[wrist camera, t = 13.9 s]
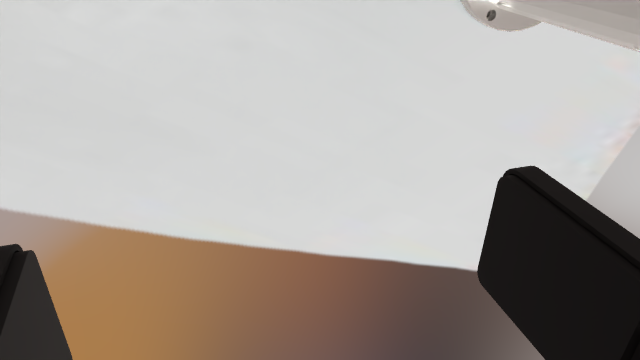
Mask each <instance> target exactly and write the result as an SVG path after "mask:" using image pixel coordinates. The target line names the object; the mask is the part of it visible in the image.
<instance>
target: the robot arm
mask: <svg viewBox="0 0 640 360" xmlns="http://www.w3.org/2000/svg"><path fill="white" fill-rule="evenodd" d="M461 2H462V4H463V5H464V7H465V8H466V10H467V12H468V13H469V14H470V15H471V16H472V17H473V18H475V19H476V20H477V21H478V22H480V23H482V24H484V25H486V26H488V27H491V28H494V29H497V30H501V31H509V32H511V31H520V30H524V29H527V28H530V27H533V26H536V25H537V24H539V23H541V22H544V23H548V24H551V25H554V26H557V27H560V28H564V29H567V30H570V31H573V32H577V33H580V34H583V35H586V36H589V37H593V38H596V39H599V40H602V41H606V42H609V43H612V44H615V45H618V46H622V47H625V48H628V49H631V50H635V51H638V52H640V0H461ZM477 272H478V278H479V281H480V283H481V285H482V286H483V287H484V288H485V290H487V292H488V293H489V294H490V295H491V296H492V298H493V299H494V300H495V301H496V302H497V303H498V305H499V306H500V307H501V308H502V309H503V311H504V312H505V313H506V314H507V315H508V316H509V318H510V319H511V320H512V321H513V322H514V323H515V325H516V326H517V327H518V328H519V329H520V331H521V332H522V333H523V334H524V335H525V336H526V338H527V339H528V340H529V341H530V342H531V343H532V345H533V346H534V347H535V348H536V349H537V350H538V352H539V353H540V354H541V355H542V356H543V357H544V359H545V360H640V239H639V238H638V237H636V236H635V235H633V234H632V233H630V232H629V231H627V230H626V229H625V228H623V227H622V226H620V225H619V224H618V223H616V222H615V221H613V220H612V219H611V218H609V217H608V216H606V215H605V214H603V213H602V212H600V211H599V210H597V209H596V208H595V207H593V206H592V205H590V204H589V203H588V202H586V201H585V200H583V199H582V198H581V197H579V196H578V195H576V194H575V193H573V192H572V191H571V190H569V189H568V188H566V187H565V186H563V185H562V184H561V183H559V182H558V181H556V180H555V179H553V178H552V177H551V176H549V175H548V174H546V173H545V172H543V171H542V170H541V169H539V168H537V167H535V166H526V167H520V168H513V169H509V170H507V171H506V172H505V173H504V175H503V177H501V178H500V179H499V181H498V184H497V188H496V192H495V197H494V201H493V205H492V209H491V214H490V218H489V222H488V227H487V231H486V235H485V240H484V244H483V248H482V252H481V257H480V261H479V265H478V271H477ZM0 360H72V355H71V352H70V349H69V347H68V344H67V341H66V338H65V336H64V333H63V330H62V327H61V325H60V322H59V319H58V316H57V313H56V311H55V308H54V305H53V302H52V299H51V296H50V294H49V291H48V288H47V285H46V282H45V280H44V277H43V274H42V271H41V268H40V266H39V263H38V260H37V257H36V255H35V253H34V252H33V251H32V250H29V251H23V250H22V248H21V247H20V246H19V245H18V244H13V245H6V246H0Z"/></svg>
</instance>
